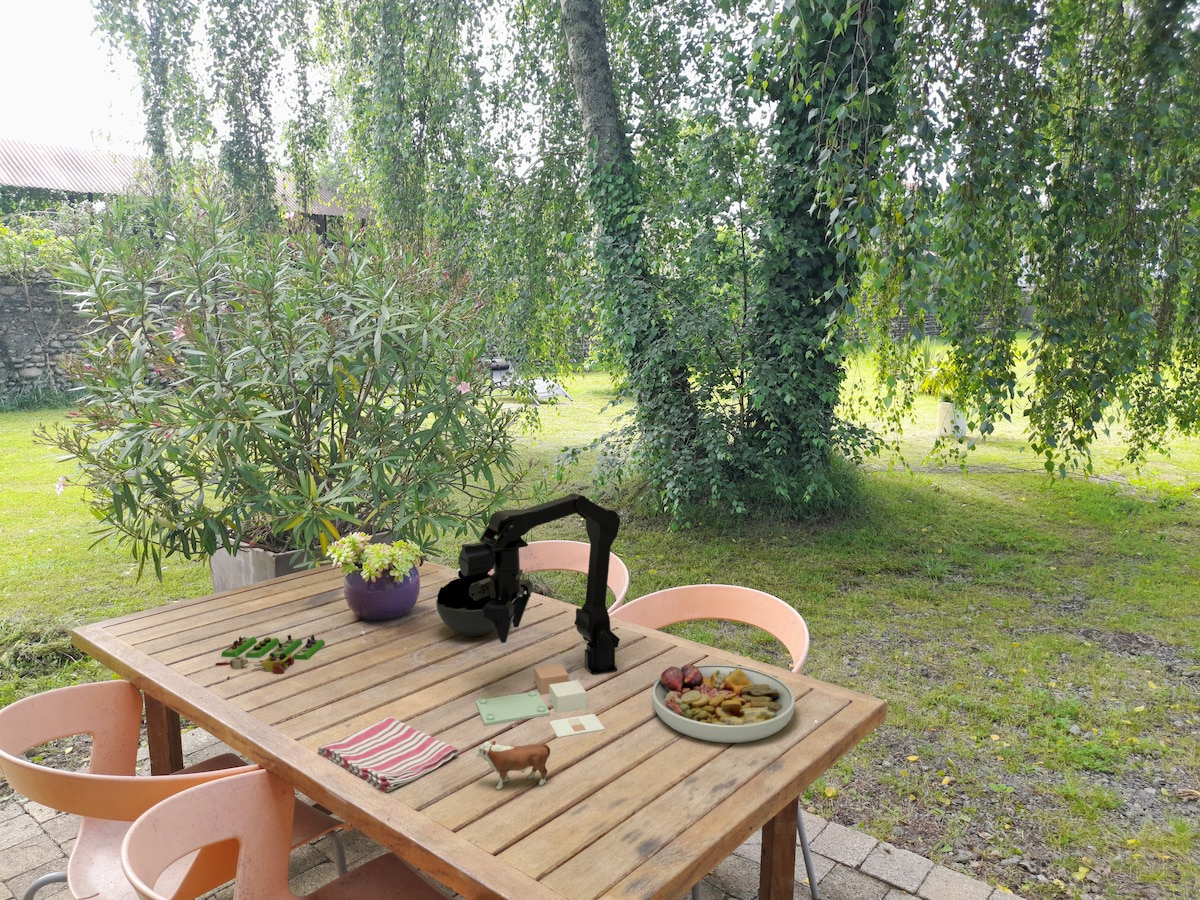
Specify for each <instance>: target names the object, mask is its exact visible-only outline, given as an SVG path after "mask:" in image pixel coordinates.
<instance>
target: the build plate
mask: <svg viewBox="0 0 1200 900" xmlns="http://www.w3.org/2000/svg"><path fill="white" fill-rule="evenodd" d="M475 705H476V707H477V710H478V712H479V715H480V717H481V720H482V722H483V725H484V726H490V725H496V724H502V723H509V722H515V721H521V720H522V721H523V720H527V719H528V720H529V719H533V718H540V717H546V716H550V715H551V714H550V713H551V712H550V710H549V708H548V707H547V705H546V703H545V702H544V700H543V698H542V697H541V694H540V692H539V690H538V691H537V690H529V691H527V692H522V693H521V692H520V693H517V694H509V695H504V696H497V697H490V698H486V697H481V698H479V699H477V700H475Z"/></svg>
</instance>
